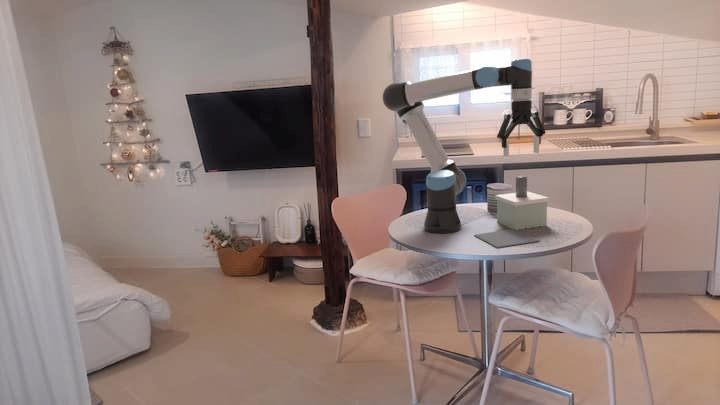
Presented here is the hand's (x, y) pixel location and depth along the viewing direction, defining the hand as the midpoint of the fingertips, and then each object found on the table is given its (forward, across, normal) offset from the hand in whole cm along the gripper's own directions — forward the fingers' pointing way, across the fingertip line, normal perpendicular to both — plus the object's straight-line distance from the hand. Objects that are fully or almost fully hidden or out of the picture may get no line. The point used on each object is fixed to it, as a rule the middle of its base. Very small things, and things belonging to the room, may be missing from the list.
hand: (521, 154), depth 194 cm
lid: (+19, 0, 0) cm, 19 cm away
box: (+29, 0, 0) cm, 29 cm away
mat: (+29, -16, -15) cm, 36 cm away
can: (+29, +4, +24) cm, 38 cm away
